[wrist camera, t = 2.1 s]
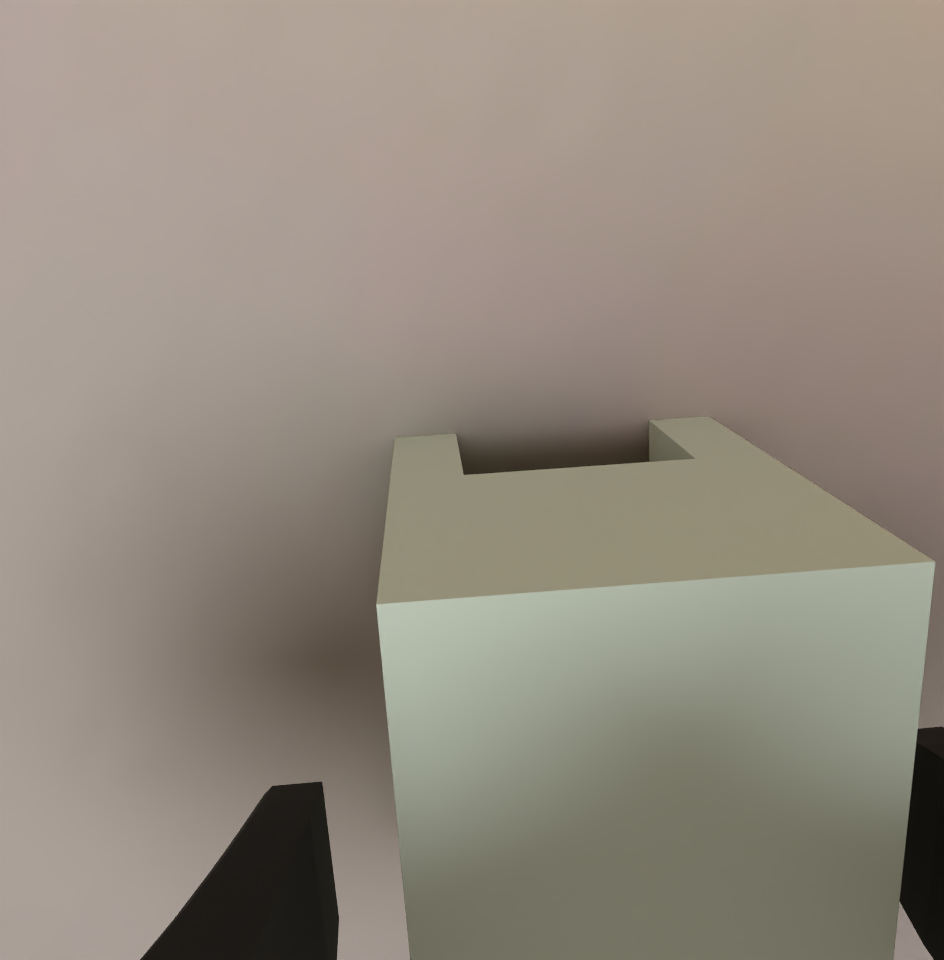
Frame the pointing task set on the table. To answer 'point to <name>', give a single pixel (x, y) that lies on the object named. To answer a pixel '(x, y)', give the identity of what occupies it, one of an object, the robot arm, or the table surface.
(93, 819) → the table surface
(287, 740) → the table surface
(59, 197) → the table surface
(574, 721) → the cabinet block
